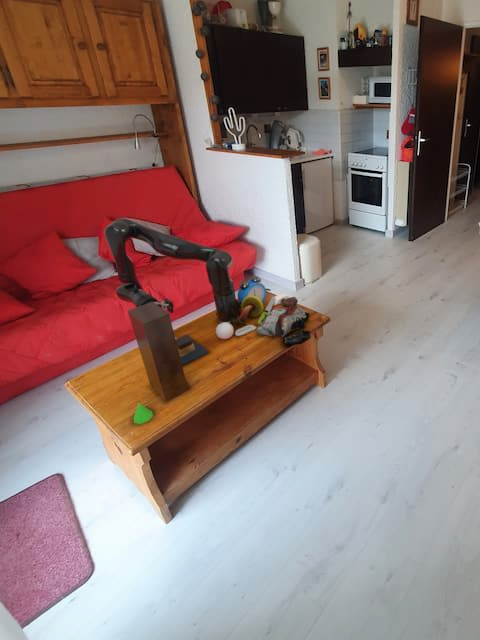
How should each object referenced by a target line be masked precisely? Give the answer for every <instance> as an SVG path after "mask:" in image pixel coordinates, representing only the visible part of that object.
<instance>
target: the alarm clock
mask: <svg viewBox="0 0 480 640" xmlns="http://www.w3.org/2000/svg"><path fill="white" fill-rule="evenodd" d="M266 289H267V288H266V287H265V285H264V284H263V283H262V279H261V278H260V277H259V276H257V275H256V276H252V277H251V278H250V279H248V280H243V281H241V282H240V283H239V288H238V291H237V299H238V302H241V305H242V302H243V300H244V298H245V297H247V296H250V295H254V296H256V297H258V298H259V299H260V300H261V301H262V303H263V304H264V302H265V299H266V297H267V290H266Z"/></svg>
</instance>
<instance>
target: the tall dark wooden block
mask: <svg viewBox="0 0 480 640" xmlns="http://www.w3.org/2000/svg"><path fill="white" fill-rule="evenodd" d="M127 314H128V318H129V319H130V324H131V327H132V330H133V334H134V336H135V340H136V343H137V346H138V350H139V353H140V355H141V359H142V362H143V366H144V369H145V372H146V375H147V378H148V382H149V385H150V387H151V388H152V389H153V391H155V393H157V394H158V395H159V396H160V397H161V399H162V400H163V401H164V402H165V403H167V402H168V401H170V400H172V399H174V398H176V397H178V396H180V395H182V394H184V393H185V392H187V391H188V390H189V386H188V384H187V379H186V376H185V372H184V368H183V367H184V366H182V363H181V359H180V355H179V351H178V347H177V343H176V339H175V337H176V335H175V332H174V328H173V325H172V321H171V320H172V319H171V317H170V313H169V312H168V311H167V310H163V309H162V307H159V306H158V305H156V304H155V303H154V302H150V303H147V304H144V305H142V306H139V307H136V306H135V307H134V308H131V309H128V310H127Z"/></svg>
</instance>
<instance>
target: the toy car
mask: <svg viewBox="0 0 480 640" xmlns="http://www.w3.org/2000/svg"><path fill="white" fill-rule="evenodd" d="M311 338H312V333H311V332H310V330H305V329H301V331H299V332H294V333H293V334H286V335H285V336H284V337H283V338H282V345H283V346H284V347H287V348H290V347H293V346H296V345H297V346H298V345H302V344H303V343H306V342H307V341H309V340H310V339H311Z"/></svg>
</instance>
